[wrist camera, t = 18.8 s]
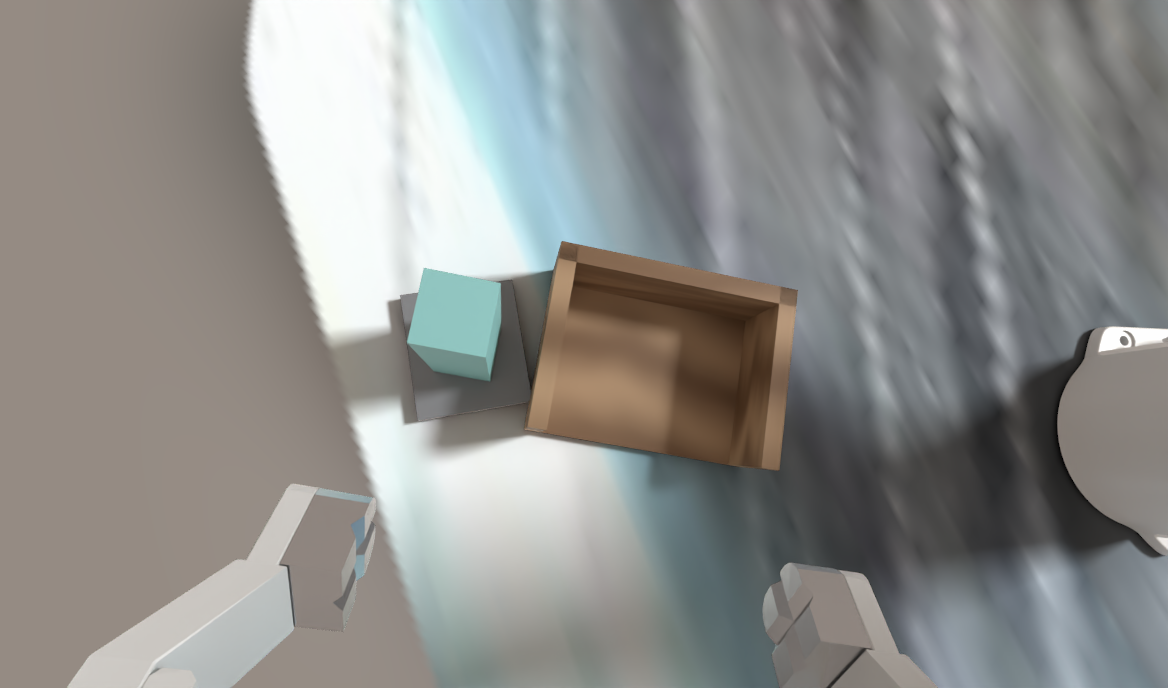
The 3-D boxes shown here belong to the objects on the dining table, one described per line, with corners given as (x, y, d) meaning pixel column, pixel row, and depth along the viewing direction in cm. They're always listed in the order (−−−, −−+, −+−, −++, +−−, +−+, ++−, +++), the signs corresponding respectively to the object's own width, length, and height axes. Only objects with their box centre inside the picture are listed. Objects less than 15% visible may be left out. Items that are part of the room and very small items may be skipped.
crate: (739, 467, 44) (779, 470, 38) (523, 429, 43) (527, 426, 36) (757, 311, 47) (797, 290, 40) (553, 269, 45) (561, 241, 39)
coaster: (511, 283, 44) (512, 279, 43) (531, 401, 43) (532, 401, 42) (402, 298, 43) (400, 295, 42) (419, 421, 42) (417, 420, 41)
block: (490, 381, 42) (485, 357, 30) (433, 371, 42) (406, 342, 30) (501, 327, 43) (500, 283, 31) (445, 316, 42) (424, 267, 31)
